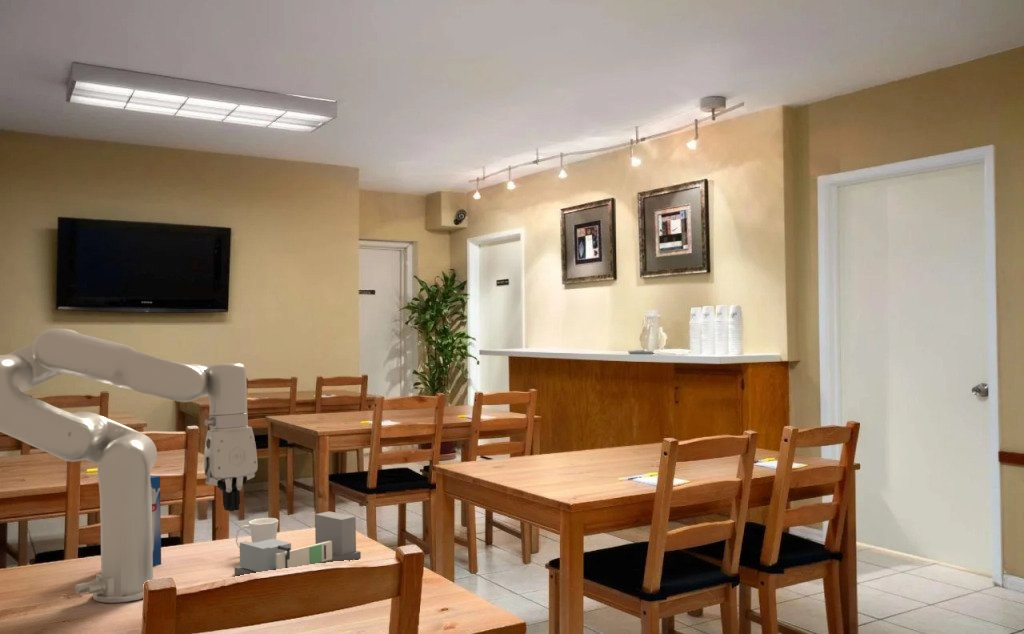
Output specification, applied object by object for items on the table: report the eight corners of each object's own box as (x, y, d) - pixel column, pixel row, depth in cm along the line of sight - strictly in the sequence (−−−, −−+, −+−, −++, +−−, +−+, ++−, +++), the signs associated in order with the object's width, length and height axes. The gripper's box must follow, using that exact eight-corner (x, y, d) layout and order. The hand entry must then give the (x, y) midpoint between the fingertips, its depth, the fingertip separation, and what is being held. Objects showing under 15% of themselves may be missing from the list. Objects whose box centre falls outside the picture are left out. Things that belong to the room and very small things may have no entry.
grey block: (270, 575, 175) (269, 550, 175) (239, 566, 182) (239, 542, 182) (301, 567, 180) (300, 543, 180) (270, 559, 188) (270, 535, 188)
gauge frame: (266, 584, 175) (265, 538, 175) (234, 574, 183) (233, 530, 183) (361, 558, 194) (360, 516, 194) (328, 550, 202) (328, 510, 202)
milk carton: (120, 574, 184) (119, 483, 185) (104, 570, 188) (103, 481, 188) (161, 563, 193) (160, 476, 193) (145, 560, 196) (144, 474, 196)
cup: (275, 558, 195) (274, 523, 195) (231, 559, 195) (231, 524, 195) (282, 550, 202) (282, 517, 202) (240, 552, 202) (240, 518, 202)
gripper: (205, 427, 168) (207, 519, 168) (270, 419, 179) (273, 505, 179) (186, 425, 173) (188, 514, 173) (250, 417, 184) (253, 501, 184)
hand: (231, 509), depth 176 cm, fingers closed
